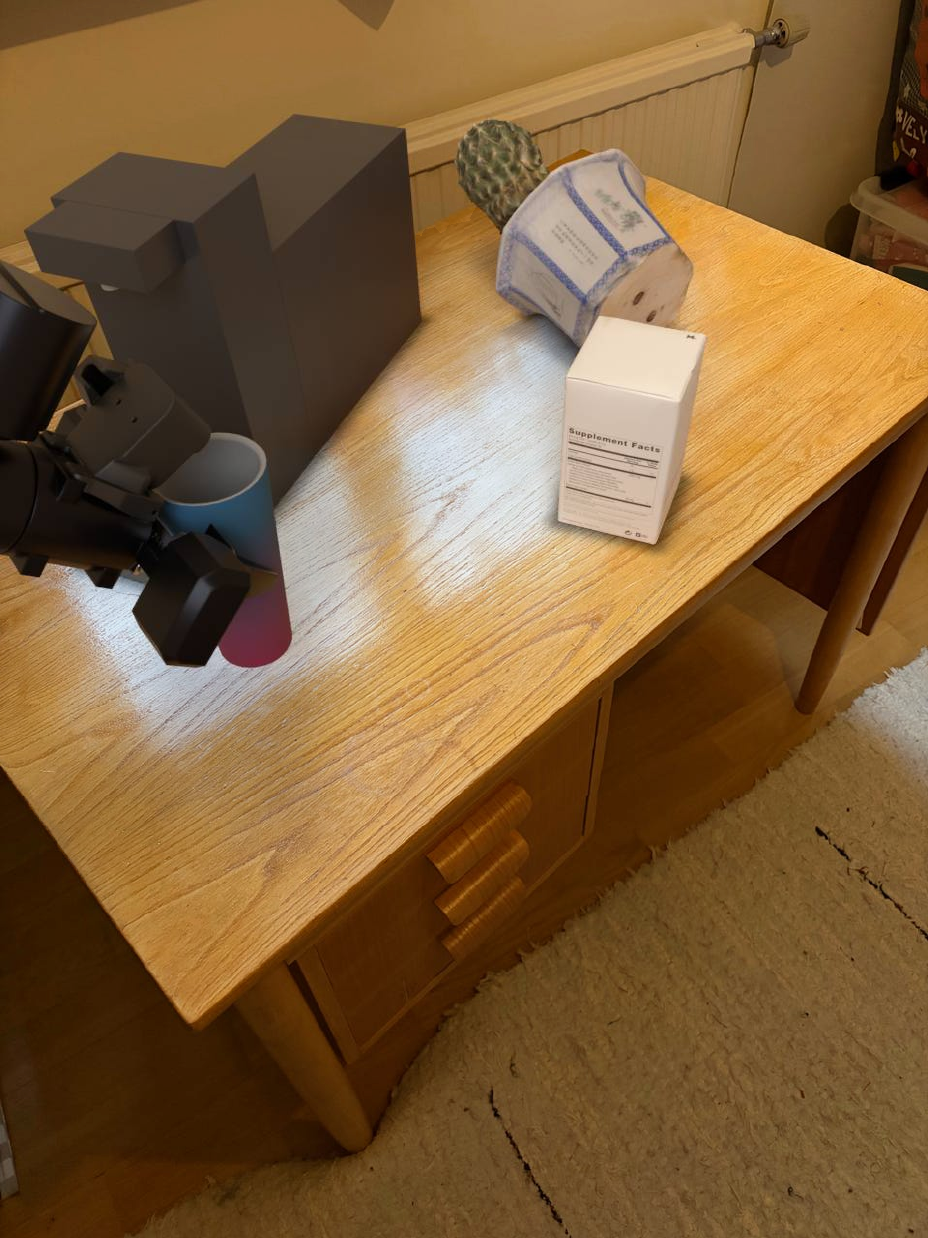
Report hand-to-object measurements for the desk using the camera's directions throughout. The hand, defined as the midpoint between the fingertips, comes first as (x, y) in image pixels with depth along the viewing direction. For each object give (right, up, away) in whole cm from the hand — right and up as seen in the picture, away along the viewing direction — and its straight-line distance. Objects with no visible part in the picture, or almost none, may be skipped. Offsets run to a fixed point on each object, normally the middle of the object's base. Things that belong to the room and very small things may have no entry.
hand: (250, 553), depth 56 cm
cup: (-1, -6, +5) cm, 8 cm away
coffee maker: (-4, +17, +32) cm, 36 cm away
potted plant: (+24, +31, +42) cm, 57 cm away
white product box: (+27, +6, +21) cm, 35 cm away
